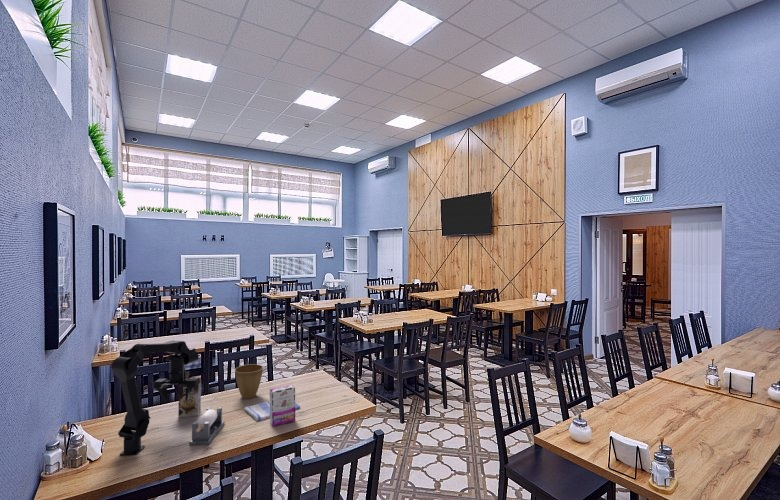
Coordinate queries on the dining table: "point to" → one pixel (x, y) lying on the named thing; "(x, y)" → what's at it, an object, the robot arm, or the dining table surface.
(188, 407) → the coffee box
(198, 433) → the roll holder
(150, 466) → the dining table surface
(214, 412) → the paper roll
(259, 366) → the plant pot
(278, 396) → the candy bar box
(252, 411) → the dish towel
